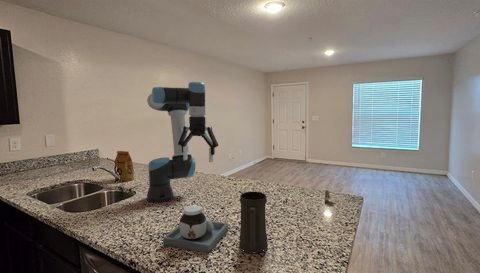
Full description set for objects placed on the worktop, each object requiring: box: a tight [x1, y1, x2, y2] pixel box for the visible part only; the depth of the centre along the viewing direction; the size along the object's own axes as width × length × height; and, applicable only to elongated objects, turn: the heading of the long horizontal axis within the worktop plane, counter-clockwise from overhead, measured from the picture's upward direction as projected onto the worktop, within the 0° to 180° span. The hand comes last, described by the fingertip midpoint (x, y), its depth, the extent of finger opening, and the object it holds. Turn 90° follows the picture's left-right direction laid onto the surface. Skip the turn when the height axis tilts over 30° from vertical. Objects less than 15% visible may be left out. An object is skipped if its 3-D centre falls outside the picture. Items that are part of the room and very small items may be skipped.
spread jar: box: [179, 204, 214, 241], centre depth 103 cm, size 12×11×12 cm
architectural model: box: [324, 188, 332, 203], centre depth 140 cm, size 3×7×7 cm, turn 159°
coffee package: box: [114, 150, 135, 183], centre depth 190 cm, size 10×12×22 cm
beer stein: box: [238, 191, 269, 253], centre depth 93 cm, size 15×11×20 cm
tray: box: [162, 220, 229, 254], centre depth 103 cm, size 19×19×3 cm
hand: (198, 160), depth 122 cm, fingers open, 13 cm apart
